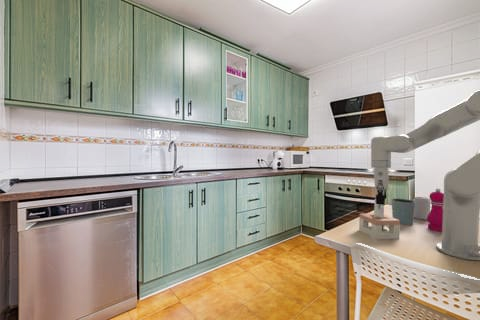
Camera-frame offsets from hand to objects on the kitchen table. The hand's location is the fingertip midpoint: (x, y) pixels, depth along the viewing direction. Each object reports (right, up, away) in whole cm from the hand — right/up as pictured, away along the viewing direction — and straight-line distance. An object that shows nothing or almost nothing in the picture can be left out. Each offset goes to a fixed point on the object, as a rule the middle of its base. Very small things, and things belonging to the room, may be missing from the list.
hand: (380, 202), depth 98 cm
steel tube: (-1, -15, +1) cm, 15 cm away
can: (+39, -14, +25) cm, 49 cm away
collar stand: (-1, -15, +1) cm, 15 cm away
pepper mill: (+32, -15, +8) cm, 36 cm away
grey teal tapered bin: (+23, -15, +18) cm, 32 cm away
